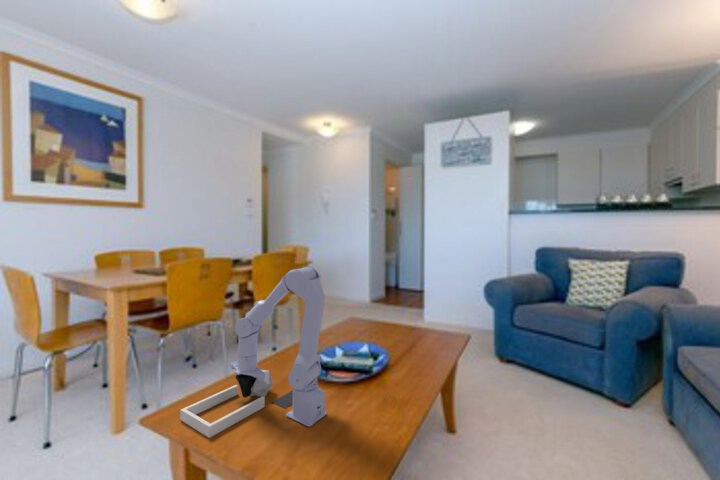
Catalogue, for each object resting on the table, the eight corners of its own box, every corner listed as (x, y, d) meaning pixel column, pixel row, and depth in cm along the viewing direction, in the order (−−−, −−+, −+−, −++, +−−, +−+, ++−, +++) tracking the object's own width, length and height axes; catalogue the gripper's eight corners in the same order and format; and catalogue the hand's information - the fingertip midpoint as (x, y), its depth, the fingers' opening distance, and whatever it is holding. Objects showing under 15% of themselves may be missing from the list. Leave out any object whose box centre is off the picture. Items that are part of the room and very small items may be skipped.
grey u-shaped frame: (264, 406, 101) (264, 397, 101) (209, 437, 86) (209, 426, 86) (236, 393, 109) (236, 384, 109) (180, 419, 93) (180, 409, 93)
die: (253, 405, 102) (274, 379, 104) (235, 387, 105) (255, 362, 107) (263, 403, 110) (282, 378, 112) (246, 386, 112) (264, 362, 115)
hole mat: (307, 395, 109) (307, 394, 109) (285, 408, 100) (285, 408, 100) (294, 390, 112) (294, 389, 112) (271, 402, 104) (271, 402, 104)
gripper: (222, 352, 104) (221, 394, 105) (252, 364, 97) (251, 409, 97) (241, 346, 110) (240, 385, 111) (270, 356, 102) (269, 399, 103)
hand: (246, 396), depth 104 cm, fingers closed, pressing on die
